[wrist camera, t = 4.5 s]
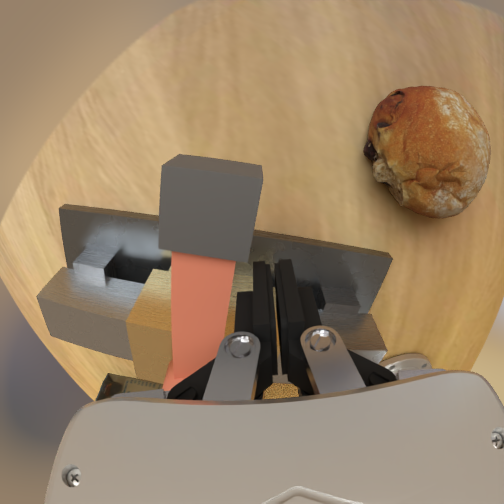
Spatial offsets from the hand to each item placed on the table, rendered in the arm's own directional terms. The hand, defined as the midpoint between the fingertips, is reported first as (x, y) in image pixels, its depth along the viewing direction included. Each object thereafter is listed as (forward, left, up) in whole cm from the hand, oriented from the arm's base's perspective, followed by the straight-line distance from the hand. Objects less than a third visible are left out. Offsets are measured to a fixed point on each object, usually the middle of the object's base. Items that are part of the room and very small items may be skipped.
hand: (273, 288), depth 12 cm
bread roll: (-11, -8, -10) cm, 16 cm away
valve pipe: (+3, +8, -9) cm, 12 cm away
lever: (+3, +2, 0) cm, 4 cm away
